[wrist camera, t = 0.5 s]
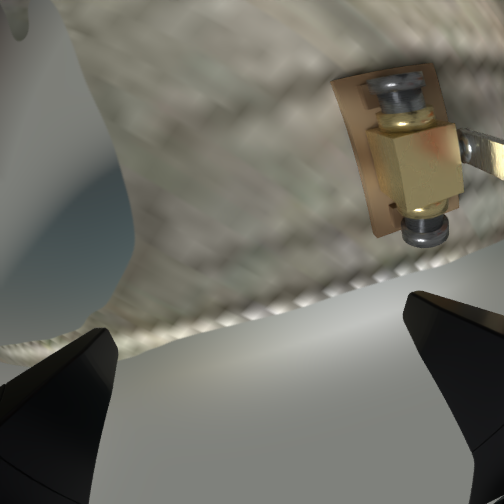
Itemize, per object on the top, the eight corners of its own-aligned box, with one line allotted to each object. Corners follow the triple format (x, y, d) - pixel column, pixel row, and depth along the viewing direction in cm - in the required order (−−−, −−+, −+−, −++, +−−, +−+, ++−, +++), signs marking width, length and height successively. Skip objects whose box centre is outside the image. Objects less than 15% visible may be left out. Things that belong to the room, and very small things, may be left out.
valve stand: (330, 81, 17) (356, 74, 12) (426, 63, 16) (469, 59, 10) (373, 233, 23) (400, 268, 18) (453, 203, 21) (490, 230, 16)
